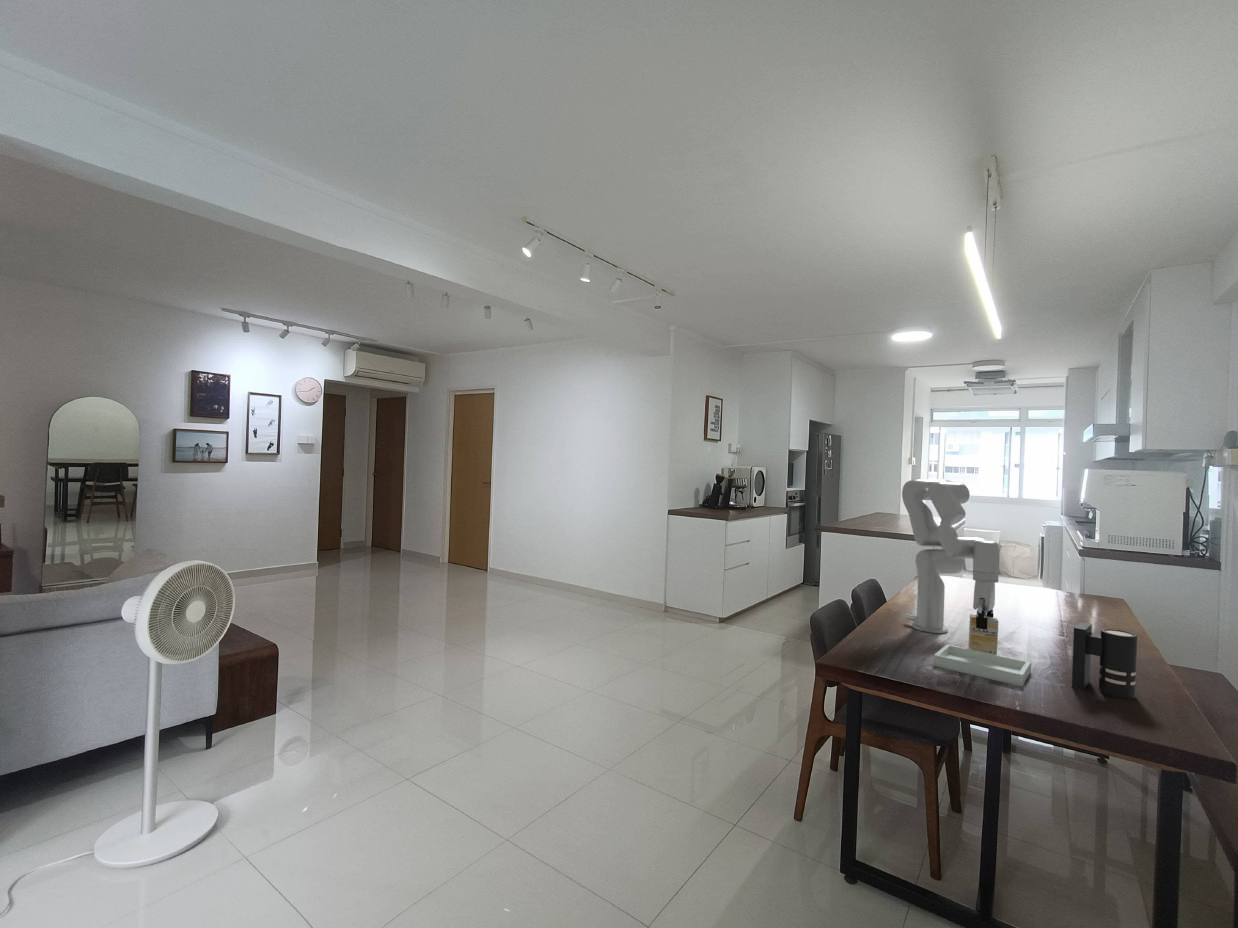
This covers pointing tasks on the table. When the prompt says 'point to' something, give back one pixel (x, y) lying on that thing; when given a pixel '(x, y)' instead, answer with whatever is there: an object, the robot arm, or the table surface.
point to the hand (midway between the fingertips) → (984, 626)
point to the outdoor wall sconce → (1105, 660)
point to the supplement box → (983, 635)
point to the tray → (983, 664)
